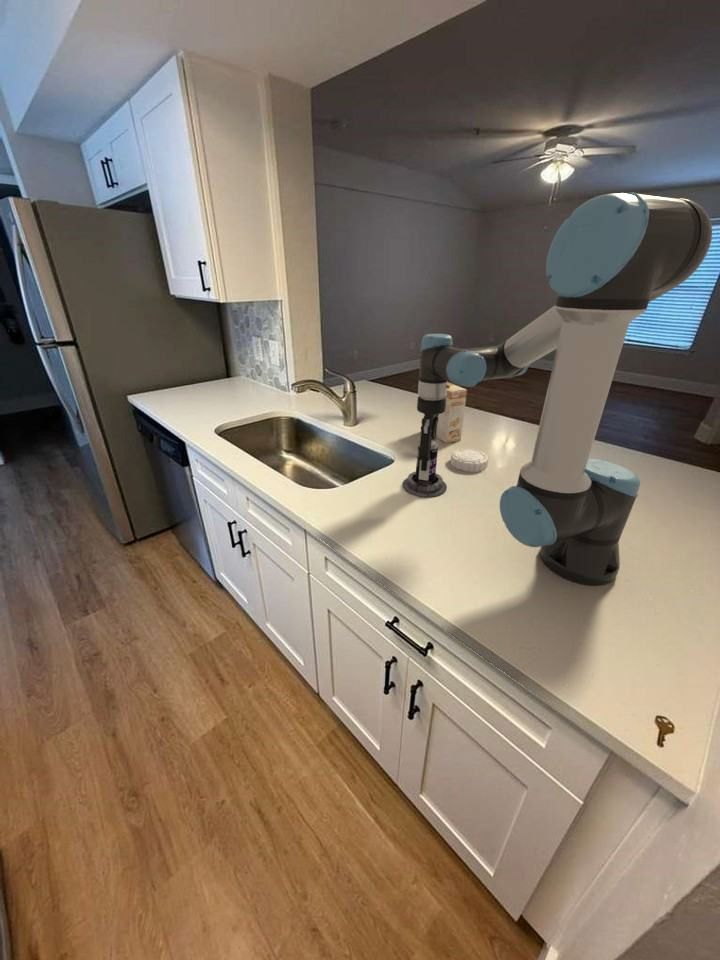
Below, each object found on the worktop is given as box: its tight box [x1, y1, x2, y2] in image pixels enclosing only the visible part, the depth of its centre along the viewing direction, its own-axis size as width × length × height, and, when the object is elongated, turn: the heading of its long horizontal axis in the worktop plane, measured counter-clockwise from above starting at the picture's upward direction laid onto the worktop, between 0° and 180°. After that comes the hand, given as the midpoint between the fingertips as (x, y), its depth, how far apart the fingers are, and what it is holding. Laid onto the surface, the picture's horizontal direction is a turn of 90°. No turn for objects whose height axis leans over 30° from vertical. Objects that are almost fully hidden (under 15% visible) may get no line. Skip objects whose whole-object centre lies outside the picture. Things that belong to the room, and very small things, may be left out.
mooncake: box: [449, 448, 489, 473], centre depth 128 cm, size 12×12×4 cm
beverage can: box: [415, 440, 439, 483], centre depth 111 cm, size 6×6×12 cm
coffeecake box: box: [436, 381, 468, 444], centre depth 147 cm, size 15×7×20 cm, turn 22°
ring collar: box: [402, 471, 448, 498], centre depth 115 cm, size 13×13×3 cm
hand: (425, 474), depth 113 cm, fingers closed on beverage can, 6 cm apart
